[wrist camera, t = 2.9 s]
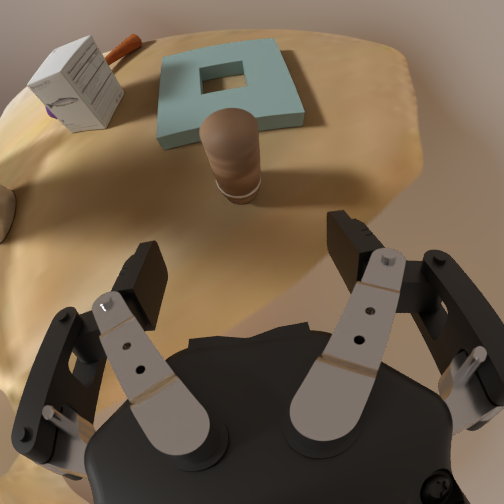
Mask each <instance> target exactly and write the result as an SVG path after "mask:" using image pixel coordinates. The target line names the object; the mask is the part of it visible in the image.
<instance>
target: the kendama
mask: <svg viewBox="0 0 504 504" xmlns="http://www.w3.org/2000/svg"><path fill="white" fill-rule="evenodd" d="M141 45H142V42H141V39H140V38H139V37H138V36H137V35H135V34H132V35H130V36H129V37H128V38H127V39H125V40H124V41H123V42H122V43H121V44H119V45H118V46H117V47H116V48H115V49H114V50H113V51H111V52H110V53H109V54H108V55H107V56H106V57H105V60H106V62H107V64H108V65H110V64H112V63H114V62H115V61H117V60H118V59H120V58H122V57H123V56H125V55H127V54H128V53H130V52H132V51H134V50H135V49H137V48H139V47H141ZM45 107H46V106H45ZM46 110H47V113H48V115H49V116H50V117H52V118H55V119H58V118H57V117H56V116H55V115H54V114H53V113H52V112H51V111H50V110H49V109H48V108H47V107H46Z"/></svg>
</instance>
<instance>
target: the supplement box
mask: <svg viewBox="0 0 504 504" xmlns="http://www.w3.org/2000/svg"><path fill="white" fill-rule="evenodd" d="M27 86H28V87H29V88H30V89H31V90H32V91H33V93H34V94H35V95H36V96H37V97H38V98H39V99H40V100H41V101H42V102H43V103H44V105H45V106H46V107H47V108H48V109H49V110H50V111H51V112H52V113H53V114H54V115H55V116H56V117H57V118H58V119H59V121H60V122H61V123H62V124H63V125H64V126H65V127H66V128H67V129H68V130H69V131H70V132H71V133H75V132H80V131H87V130H96V129H106V127H107V125H108V124H109V122H110V119H111V118H112V116H113V114H114V112H115V110H116V108H117V106H118V104H119V102H120V100H121V98H122V97H123V95H124V91H123V89H122V88H121V86H120V84H119V83H118V81H117V79H116V77H115V76H114V74H113V72H112V70H111V69H110V67H109V65H108V64H107V62H106V60H105V58H104V57H103V55H102V53H101V52H100V50H99V48H98V46H97V45H96V43H95V41H94V39H93V37H92V35H89V36H86V37H84V38H81V39H78V40H76V41H73V42H71V43H68V44H66V45H64V46H61V47H59V48H57V49H55V50H53V51H52V53H51V54H50V55H49V56H48V57H47V58H46V60H45V61H44V62H43V64H42V65H41V66H40V67H39V69H38V70H37V71H36V73H35V74H34V76H33V77H32V78H31V80H30V81H29V83H28V84H27Z"/></svg>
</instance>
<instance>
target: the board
mask: <svg viewBox="0 0 504 504" xmlns="http://www.w3.org/2000/svg"><path fill="white" fill-rule="evenodd" d="M239 74H244V77H245V81H246V85H247V87H240V88H234V89H228V90H222V91H217V92H212V93H207V94H204V93H203V81H205V80H210V79H215V78H220V77H226V76H232V75H239ZM225 108H240V109H243V110H246V111H248V112H249V113H251V114H252V115H253V116H254V117H255V118H256V120H257V123H258V131H263V130H270V129H278V128H287V127H297V126H303V121H304V115H305V111H304V108H303V106H302V103H301V100H300V98H299V95H298V93H297V90H296V88H295V85H294V83H293V80H292V78H291V75H290V73H289V71H288V68H287V66H286V64H285V61H284V59H283V57H282V55H281V52H280V50H279V48H278V46H277V44H276V42H275V39H274V38H269V39H257V40H248V41H240V42H233V43H226V44H220V45H215V46H209V47H204V48H199V49H195V50H190V51H186V52H182V53H178V54H174V55H171V56H167V57H163V59H162V67H161V77H160V88H159V100H158V116H157V140H158V141H159V143H160V145H161V146H162V148H163V149H164V150H166V149H170V148H174V147H178V146H182V145H186V144H191V143H195V142H200V141H201V139H200V134H199V131H200V127H201V125H202V123H203V121H204V120H205V119H206V118H207V117H208V116H209V115H210V114H212V113H214V112H216V111H218V110H221V109H225Z"/></svg>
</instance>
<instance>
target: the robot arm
mask: <svg viewBox="0 0 504 504" xmlns="http://www.w3.org/2000/svg"><path fill="white" fill-rule="evenodd" d="M15 206H16V199H15V195H14V193H13V192H12V191H11V190H9V189H7V188H6V187H4V186H2V185H1V184H0V242H2V241H3V239H4V238H5V237H6V235H7V233H8V231H9V229H10V227H11V224H12V221H13V217H14V213H15ZM327 247H328V251H329V254H330V256H331V258H332V260H333V261H334V263H335V265H336V267H337V269H338V270H339V273H340V274H341V276H342V278H343V280H344V282H345V284H346V286H347V288H348V290H349V292H350V294H351V296H350V298H349V301H348V303H347V305H346V307H345V309H344V311H343V314H342V316H341V318H340V320H339V322H338V324H337V326H336V328H335V330H334V332H333V334H331V333H327V332H322V331H313V330H310V329H309V325H308V322H304V323H299V324H294V325H288V326H282V327H277V328H275V329H272V330H270V331H267V332H264V333H262V334H258V335H256V336H253V337H250V338H235V337H223V336H213V337H204V338H194V339H189V345H188V348H187V349H184V350H181V351H179V352H177V353H175V354H173V355H172V356H170V357H169V358H168V359H166V360H164V359H163V357H162V356H161V355H160V353H159V352H158V350H157V349H156V348H155V346H154V345H153V343H152V342H151V340H150V339H149V338H148V336H147V335H146V333H145V331H152V330H155V328H156V324H157V319H158V315H159V311H160V307H161V303H162V299H163V296H164V292H165V288H166V284H167V281H168V272H167V268H166V265H165V262H164V260H163V257H162V254H161V252H160V249H159V246H158V244H157V242H156V241H149V242H144V243H140V244H139V246H138V248H137V250H136V252H135V254H134V255H132V256H131V257H130V258H129V259H128V260H127V261H126V262H125V264H124V265H123V267H122V270H121V271H120V273H119V276H118V277H117V279H116V282H115V284H114V286H113V288H112V290H111V292H107V293H105V294H103V295H101V296H100V297H98V298H97V299H96V300H95V302H94V303H93V305H92V310H91V311H88V312H86V313H83V314H80V315H79V313H78V312H77V310H76V309H75V308H74V307H67V308H64V309H62V310H61V311H59V312H58V313H57V314H56V315H55V317H54V318H53V320H52V322H51V324H50V327H49V329H48V331H47V333H46V335H45V337H44V340H43V342H42V344H41V346H40V349H39V351H38V354H37V356H36V358H35V361H34V363H33V366H32V369H31V371H30V374H29V377H28V379H27V382H26V385H25V388H24V391H23V394H22V397H21V400H20V404H19V407H18V411H17V414H16V418H15V422H14V425H13V430H12V435H11V438H12V444H13V447H14V448H15V450H16V451H18V452H19V453H20V454H22V455H24V456H25V457H27V458H29V459H31V460H32V461H34V462H35V463H36V464H38V465H40V466H42V467H44V468H46V469H48V470H50V471H52V472H54V473H56V474H59V475H62V476H65V477H67V478H69V479H72V480H81V479H82V478H88V480H89V483H90V486H91V490H92V494H93V500H94V504H470V502H469V501H468V499H467V498H466V496H465V495H464V493H463V492H462V491H461V489H460V488H459V486H458V484H457V483H456V481H455V479H454V477H453V475H452V471H451V461H450V450H451V440H452V436H454V435H456V434H458V433H460V432H462V431H463V430H466V429H467V430H470V431H475V430H478V429H479V428H481V427H482V426H484V425H485V424H486V423H487V422H488V421H490V420H491V419H492V418H493V417H495V416H496V415H497V414H498V413H499V412H500V411H502V410H503V409H504V324H503V322H502V321H501V319H500V318H499V316H498V315H497V314H496V312H495V311H494V309H493V308H492V307H491V305H490V304H489V302H488V301H487V300H486V298H485V297H484V296H483V294H482V293H481V292H480V291H479V289H478V288H477V287H476V285H475V284H474V283H473V282H472V281H471V279H470V278H469V277H468V276H467V274H466V273H464V271H463V270H462V269H461V267H460V266H459V265H458V264H457V263H456V262H455V260H454V259H453V258H452V257H451V256H450V255H448V254H447V253H445V252H443V251H440V250H429V251H427V252H426V253H425V254H424V257H423V261H407V260H406V259H405V257H404V256H403V254H402V253H400V252H399V251H397V250H395V249H391V248H385V247H384V246H383V245H382V243H381V242H380V241H379V240H378V239H377V238H376V236H375V235H373V233H372V232H371V231H370V230H369V228H368V227H367V226H366V225H365V224H364V223H363V222H361V221H359V220H357V219H351V218H350V217H349V216H348V214H347V213H346V212H345V211H344V210H338V211H331V212H328V213H327ZM442 301H443V302H444V304H445V305H446V307H447V310H448V314H447V312H446V311H445V309H444V308H443V307H442V305H441V302H442ZM395 313H411V315H412V317H413V319H414V321H415V323H416V324H417V326H418V328H419V330H420V332H421V334H422V336H423V338H424V340H425V342H426V344H427V346H428V348H429V350H430V352H431V354H432V356H433V358H434V360H435V362H436V365H437V367H438V369H439V371H440V373H441V378H440V380H439V383H438V389H439V393H440V395H438V394H437V393H435V392H434V391H432V390H430V389H428V388H427V387H425V386H423V385H421V384H420V383H418V382H416V381H414V380H412V379H411V378H409V377H407V376H406V375H404V374H402V373H400V372H399V371H397V370H395V369H393V368H392V367H390V366H388V365H387V364H385V363H383V362H381V360H382V357H383V354H384V350H385V348H386V344H387V341H388V338H389V334H390V331H391V327H392V323H393V320H394V316H395ZM72 352H73V353H74V354H75V355H76V357H77V361H76V364H75V367H74V370H73V374H72V373H71V372H70V370H69V366H68V362H69V358H70V355H71V353H72ZM107 357H108V360H109V362H110V364H111V366H112V368H113V370H114V372H115V375H116V377H117V379H118V381H119V383H120V385H121V387H122V389H123V391H124V392H125V394H126V396H127V398H128V399H127V400H126V401H125V402H124V403H123V405H122V406H121V407H120V408H119V409H118V410H117V411H116V412H115V413H114V414H113V415H112V416H111V417H110V418H109V419H108V420H107V421H106V422H105V423H104V424H103V425H102V426H101V427H100V428H99V429H98V430H97V431H95V429H94V427H93V422H94V416H95V411H96V405H97V400H98V395H99V390H100V386H101V381H102V377H103V372H104V368H105V364H106V360H107Z"/></svg>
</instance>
